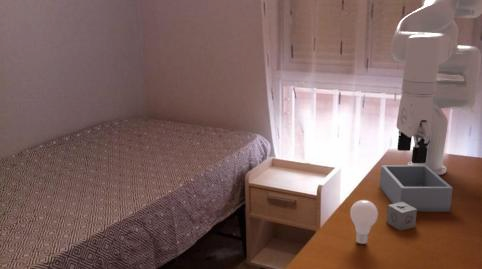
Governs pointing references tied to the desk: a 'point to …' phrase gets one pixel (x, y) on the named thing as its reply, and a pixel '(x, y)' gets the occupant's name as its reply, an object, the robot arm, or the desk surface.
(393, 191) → the box
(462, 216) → the desk surface
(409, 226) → the dice cube
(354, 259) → the desk surface
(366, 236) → the lightbulb
